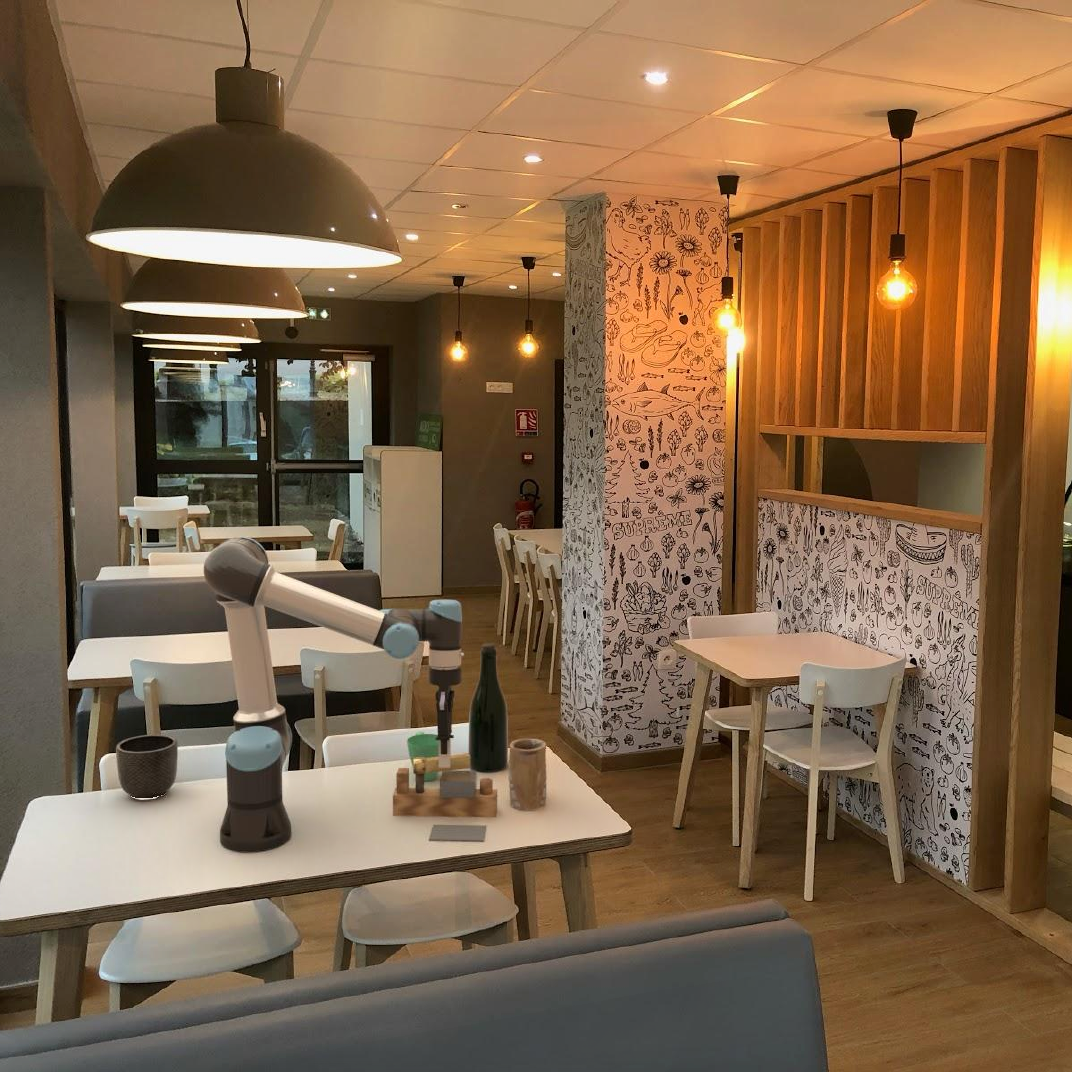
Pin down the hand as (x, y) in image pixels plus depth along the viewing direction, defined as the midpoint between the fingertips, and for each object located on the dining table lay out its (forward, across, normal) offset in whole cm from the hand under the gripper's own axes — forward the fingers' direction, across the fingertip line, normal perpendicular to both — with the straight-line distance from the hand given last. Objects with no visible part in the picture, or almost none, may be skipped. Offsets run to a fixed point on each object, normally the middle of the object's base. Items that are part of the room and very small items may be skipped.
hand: (444, 766), depth 241 cm
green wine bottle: (+9, +33, -8) cm, 35 cm away
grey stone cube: (+6, 0, -3) cm, 7 cm away
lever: (+1, +2, +1) cm, 2 cm away
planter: (+11, +7, +73) cm, 74 cm away
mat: (+12, -11, -4) cm, 17 cm away
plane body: (+11, 0, 0) cm, 11 cm away
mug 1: (+10, +25, +8) cm, 28 cm away
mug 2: (+11, +9, -18) cm, 23 cm away
